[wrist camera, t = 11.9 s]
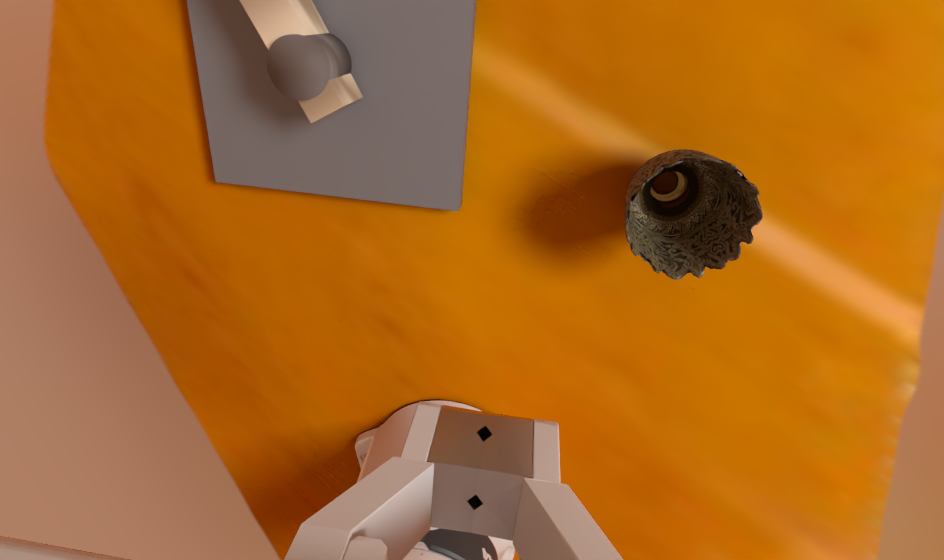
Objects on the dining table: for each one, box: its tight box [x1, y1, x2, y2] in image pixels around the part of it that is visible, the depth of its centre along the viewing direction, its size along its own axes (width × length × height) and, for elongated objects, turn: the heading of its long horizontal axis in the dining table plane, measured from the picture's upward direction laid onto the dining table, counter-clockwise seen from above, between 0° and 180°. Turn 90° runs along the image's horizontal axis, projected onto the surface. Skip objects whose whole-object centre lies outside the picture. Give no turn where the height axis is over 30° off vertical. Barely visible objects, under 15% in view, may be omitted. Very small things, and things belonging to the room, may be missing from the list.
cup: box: [625, 150, 762, 279], centre depth 33 cm, size 8×7×8 cm
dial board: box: [186, 0, 476, 211], centre depth 34 cm, size 24×19×2 cm
